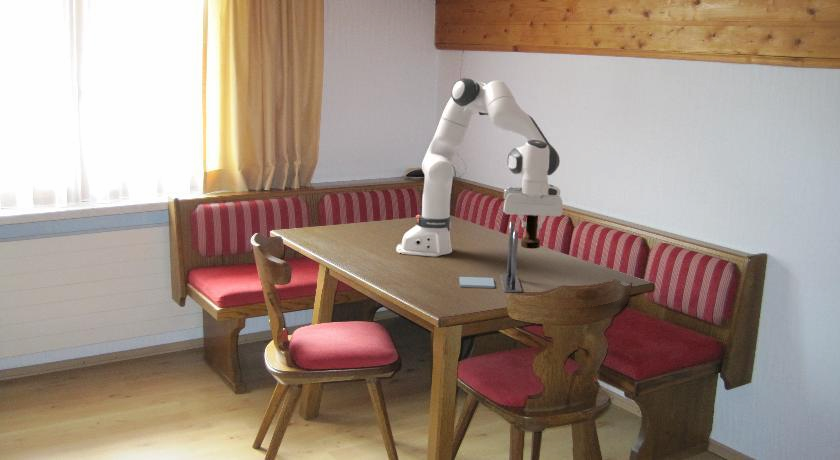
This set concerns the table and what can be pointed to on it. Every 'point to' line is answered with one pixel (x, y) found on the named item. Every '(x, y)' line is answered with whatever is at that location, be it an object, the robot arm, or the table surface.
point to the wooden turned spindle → (531, 233)
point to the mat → (476, 282)
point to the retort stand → (511, 264)
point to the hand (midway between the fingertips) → (531, 227)
